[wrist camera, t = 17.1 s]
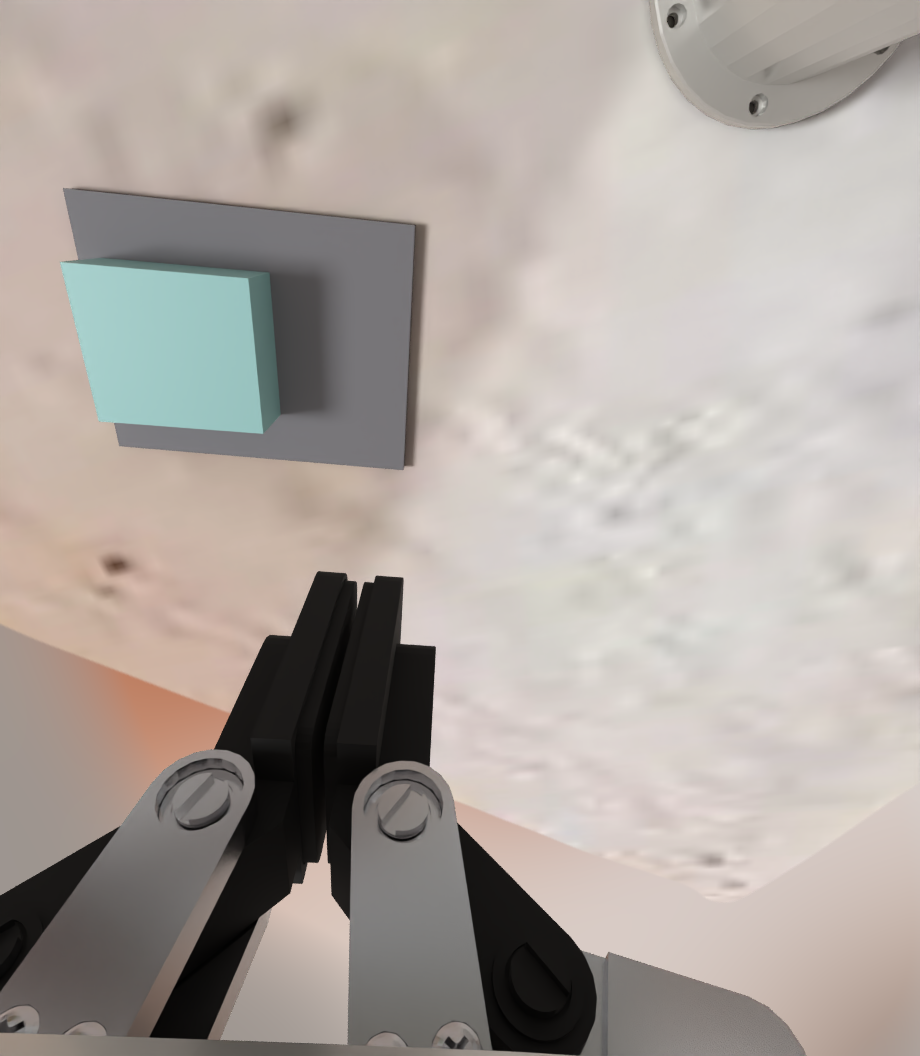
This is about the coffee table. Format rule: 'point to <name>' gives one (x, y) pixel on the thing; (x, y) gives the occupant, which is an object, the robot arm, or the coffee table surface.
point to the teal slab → (176, 343)
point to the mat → (286, 318)
